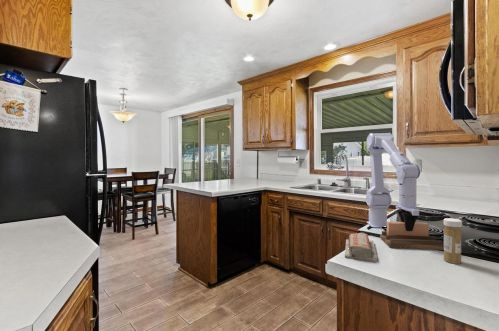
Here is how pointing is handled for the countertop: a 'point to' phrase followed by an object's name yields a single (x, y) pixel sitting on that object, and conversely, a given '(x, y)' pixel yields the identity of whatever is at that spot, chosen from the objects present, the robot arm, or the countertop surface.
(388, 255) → the countertop surface
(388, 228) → the tile strip
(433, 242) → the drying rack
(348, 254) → the packaged product
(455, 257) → the sprinkles bottle
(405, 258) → the countertop surface
